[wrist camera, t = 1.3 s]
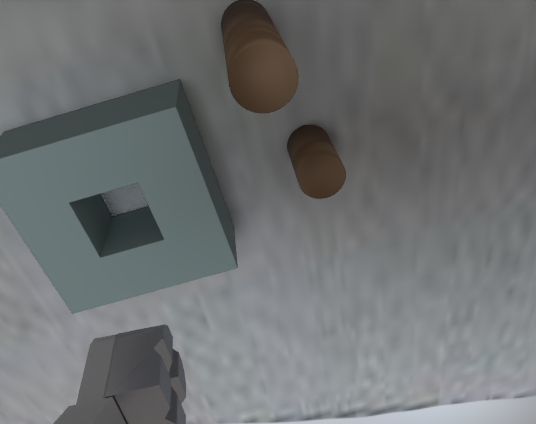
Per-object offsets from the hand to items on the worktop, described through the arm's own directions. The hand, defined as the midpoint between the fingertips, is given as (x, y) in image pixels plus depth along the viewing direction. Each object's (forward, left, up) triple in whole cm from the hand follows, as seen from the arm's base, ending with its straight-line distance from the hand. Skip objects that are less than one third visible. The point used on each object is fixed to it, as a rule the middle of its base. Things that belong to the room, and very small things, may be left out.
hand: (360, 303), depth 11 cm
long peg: (+1, -1, -24) cm, 24 cm away
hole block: (+12, +7, -24) cm, 28 cm away
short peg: (-1, +8, -25) cm, 26 cm away
